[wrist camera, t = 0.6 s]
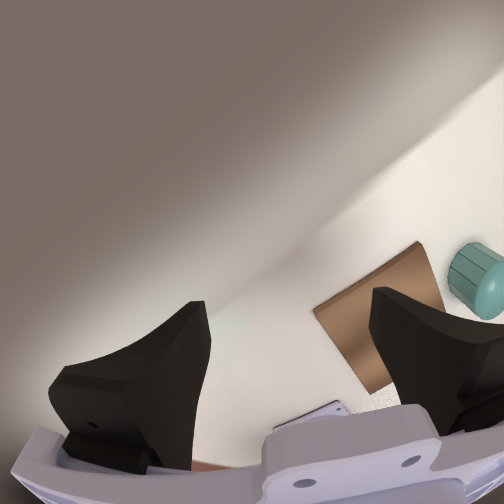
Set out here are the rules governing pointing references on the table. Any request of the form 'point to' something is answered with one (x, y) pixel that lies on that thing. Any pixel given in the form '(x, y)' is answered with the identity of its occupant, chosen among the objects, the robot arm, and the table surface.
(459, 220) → the table surface
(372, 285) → the stud board
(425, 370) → the robot arm
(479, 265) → the cap
